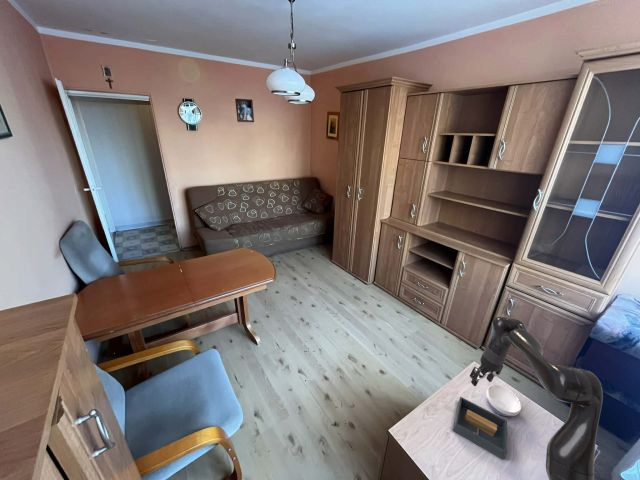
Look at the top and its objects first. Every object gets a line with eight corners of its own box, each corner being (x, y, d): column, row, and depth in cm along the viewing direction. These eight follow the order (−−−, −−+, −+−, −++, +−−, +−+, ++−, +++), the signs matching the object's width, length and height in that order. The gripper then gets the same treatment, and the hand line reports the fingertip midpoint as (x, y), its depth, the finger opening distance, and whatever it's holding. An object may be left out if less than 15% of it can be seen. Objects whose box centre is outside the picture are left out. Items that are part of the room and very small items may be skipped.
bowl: (485, 387, 141) (490, 378, 138) (517, 406, 133) (523, 397, 129) (479, 407, 131) (484, 398, 128) (513, 429, 123) (519, 419, 119)
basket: (501, 460, 111) (506, 453, 109) (452, 431, 121) (455, 424, 118) (502, 427, 123) (506, 420, 121) (457, 403, 132) (460, 396, 130)
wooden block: (492, 444, 116) (496, 438, 114) (462, 428, 122) (466, 421, 119) (493, 431, 121) (497, 424, 119) (464, 415, 127) (467, 409, 125)
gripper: (487, 367, 105) (474, 393, 112) (514, 360, 109) (500, 386, 116) (472, 352, 111) (461, 378, 118) (499, 346, 115) (486, 371, 122)
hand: (481, 382), depth 117 cm, fingers open, 8 cm apart
